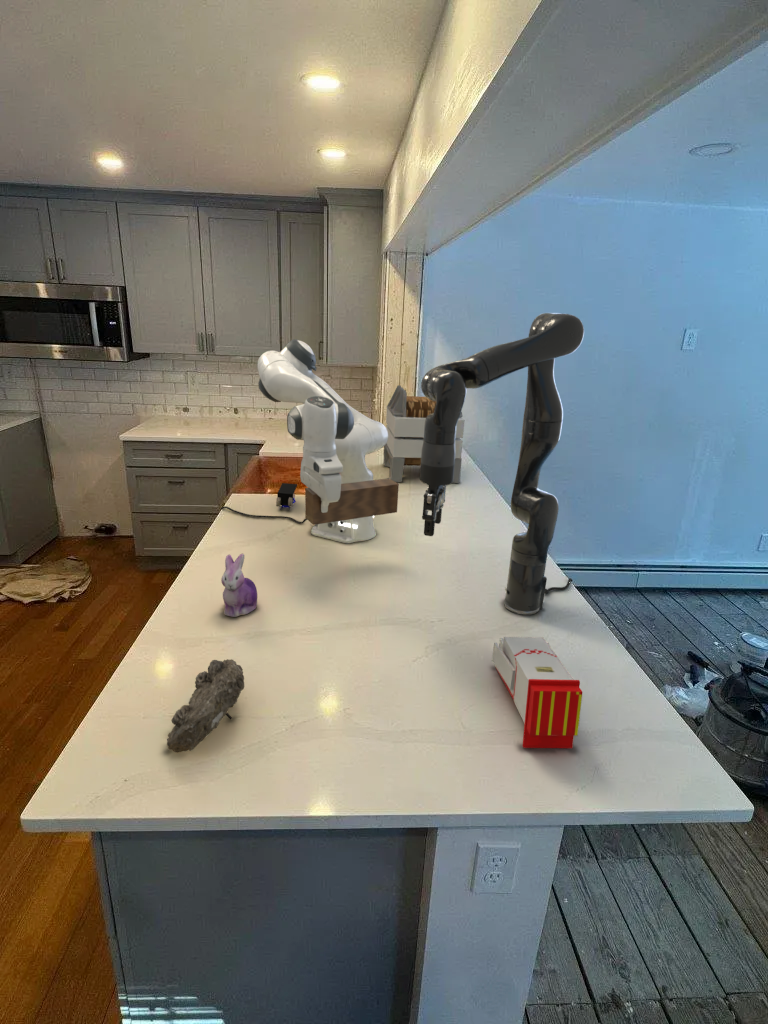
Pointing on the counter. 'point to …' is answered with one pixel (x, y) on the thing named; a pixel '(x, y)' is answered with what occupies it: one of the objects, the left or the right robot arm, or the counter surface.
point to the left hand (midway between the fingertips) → (318, 507)
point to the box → (354, 501)
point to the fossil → (206, 705)
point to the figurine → (237, 589)
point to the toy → (539, 691)
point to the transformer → (412, 433)
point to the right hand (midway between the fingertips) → (432, 528)
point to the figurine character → (286, 495)
